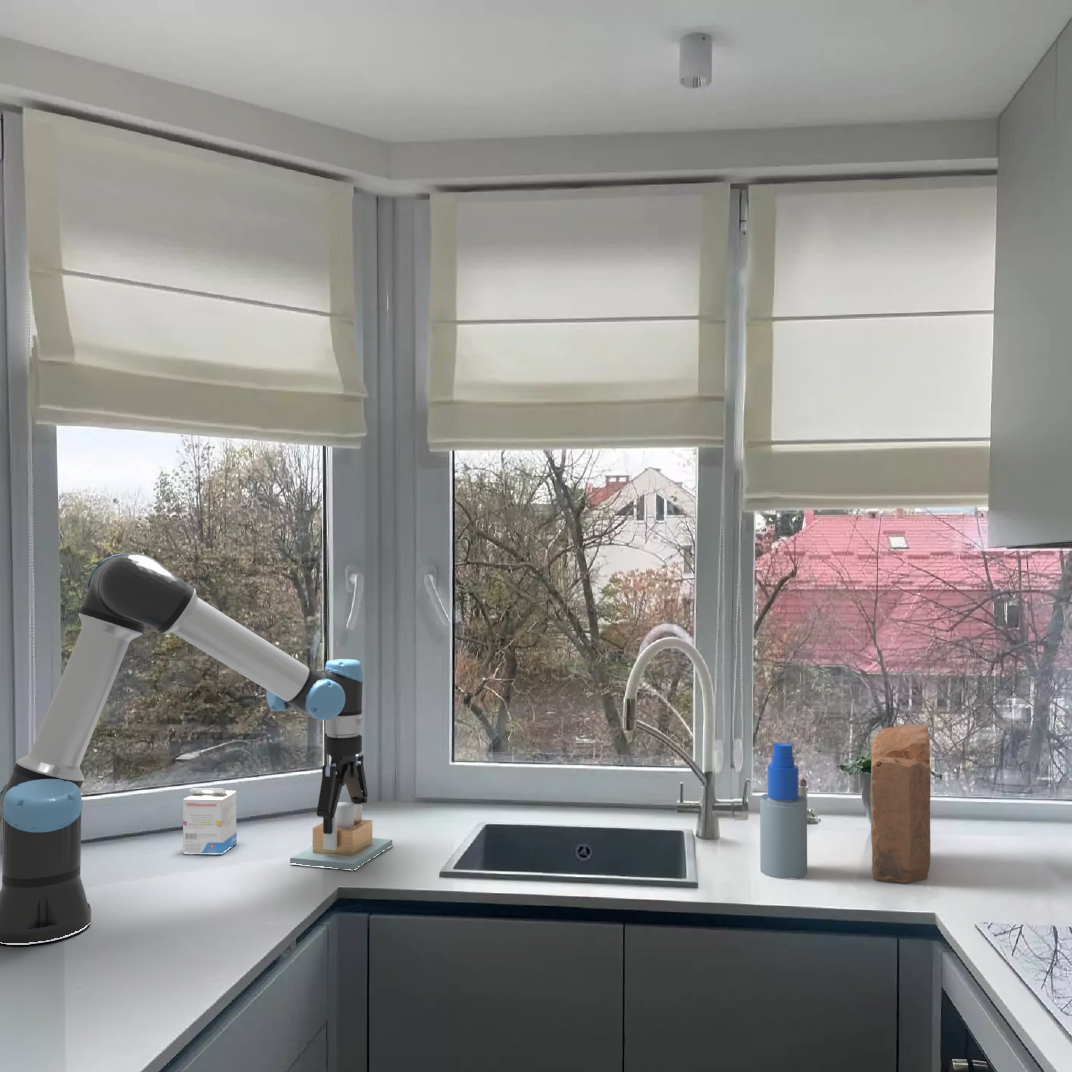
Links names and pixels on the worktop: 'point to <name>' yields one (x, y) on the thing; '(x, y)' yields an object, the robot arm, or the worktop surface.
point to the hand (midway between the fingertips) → (342, 841)
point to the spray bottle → (783, 819)
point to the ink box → (209, 820)
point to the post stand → (340, 861)
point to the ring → (346, 839)
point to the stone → (900, 803)
